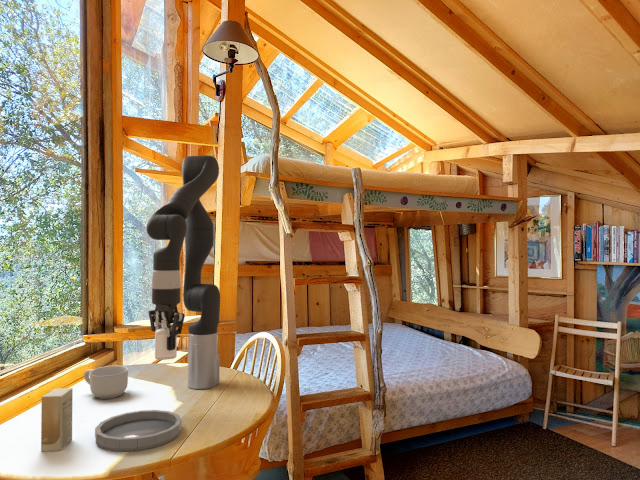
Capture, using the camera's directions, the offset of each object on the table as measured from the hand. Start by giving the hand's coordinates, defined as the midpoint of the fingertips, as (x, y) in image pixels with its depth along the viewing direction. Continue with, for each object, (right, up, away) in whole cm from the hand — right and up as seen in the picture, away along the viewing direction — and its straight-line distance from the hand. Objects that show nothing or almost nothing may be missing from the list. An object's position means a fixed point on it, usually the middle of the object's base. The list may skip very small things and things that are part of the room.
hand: (165, 348), depth 131 cm
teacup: (-23, -18, +14) cm, 32 cm away
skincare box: (-17, -17, -24) cm, 34 cm away
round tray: (-1, -17, -17) cm, 24 cm away
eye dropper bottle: (0, -3, 0) cm, 3 cm away
